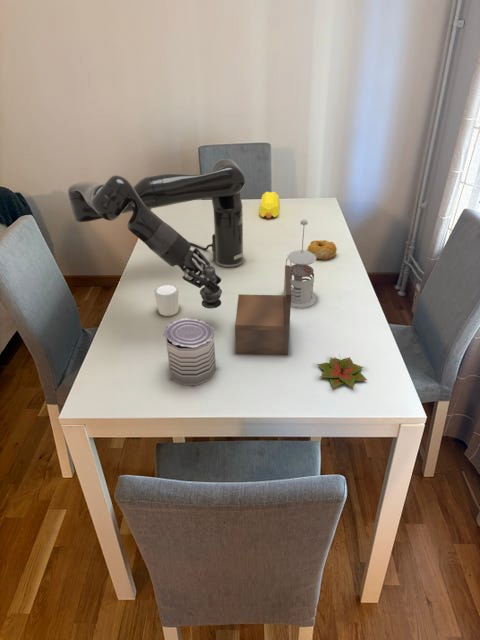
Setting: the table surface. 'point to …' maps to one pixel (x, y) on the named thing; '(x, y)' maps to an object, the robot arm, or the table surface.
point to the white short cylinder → (167, 299)
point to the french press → (302, 289)
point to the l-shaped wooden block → (264, 322)
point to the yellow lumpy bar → (269, 205)
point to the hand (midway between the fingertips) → (218, 286)
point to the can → (190, 351)
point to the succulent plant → (341, 371)
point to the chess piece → (209, 297)
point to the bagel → (322, 249)
